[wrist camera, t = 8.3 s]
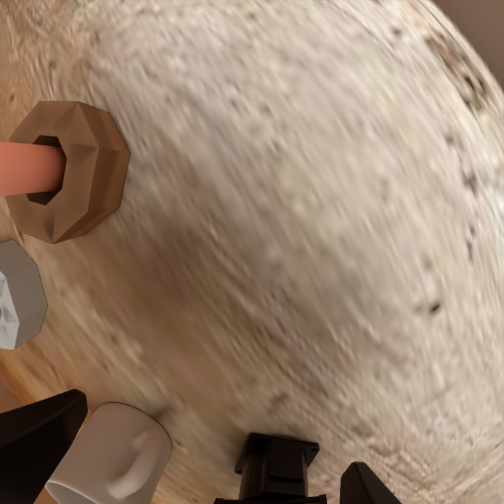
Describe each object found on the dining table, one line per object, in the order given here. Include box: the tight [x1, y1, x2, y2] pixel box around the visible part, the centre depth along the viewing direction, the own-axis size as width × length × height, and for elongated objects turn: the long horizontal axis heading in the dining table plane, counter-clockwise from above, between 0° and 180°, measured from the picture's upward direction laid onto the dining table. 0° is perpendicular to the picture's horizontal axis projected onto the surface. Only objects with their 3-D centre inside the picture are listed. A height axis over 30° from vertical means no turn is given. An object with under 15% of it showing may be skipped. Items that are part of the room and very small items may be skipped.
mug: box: [45, 403, 171, 504], centre depth 18 cm, size 12×8×11 cm
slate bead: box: [0, 240, 48, 350], centre depth 20 cm, size 9×9×4 cm
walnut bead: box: [5, 101, 131, 244], centre depth 17 cm, size 9×9×4 cm
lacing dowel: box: [0, 142, 67, 196], centre depth 14 cm, size 3×3×9 cm
